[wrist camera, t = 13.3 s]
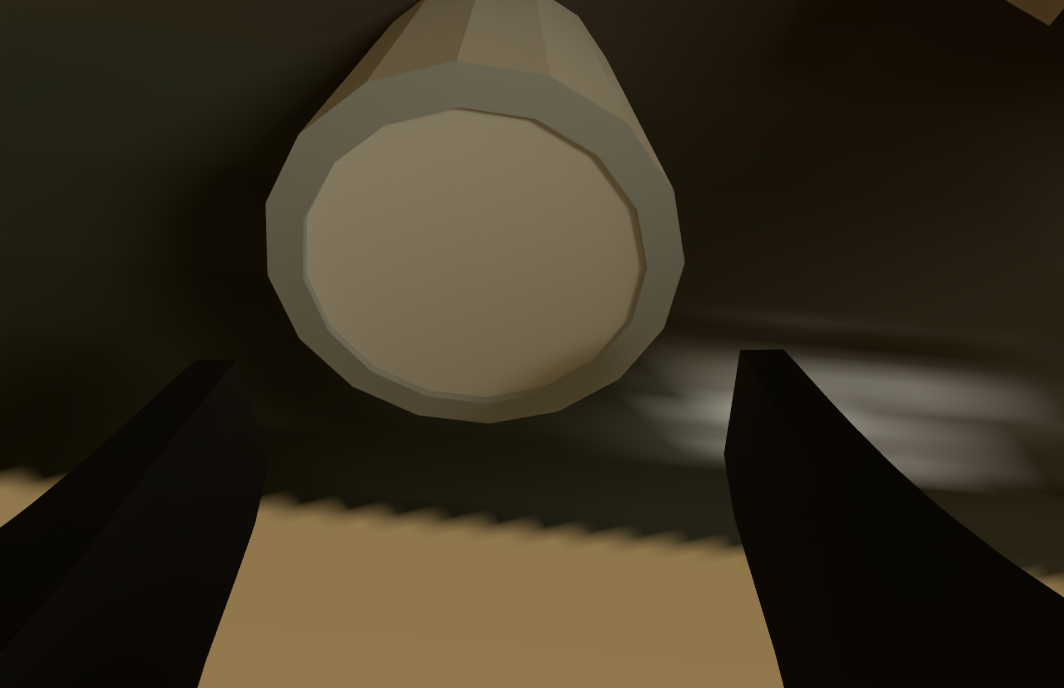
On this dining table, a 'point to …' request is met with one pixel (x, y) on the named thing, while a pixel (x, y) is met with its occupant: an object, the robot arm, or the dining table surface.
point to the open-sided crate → (1040, 8)
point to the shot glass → (476, 217)
